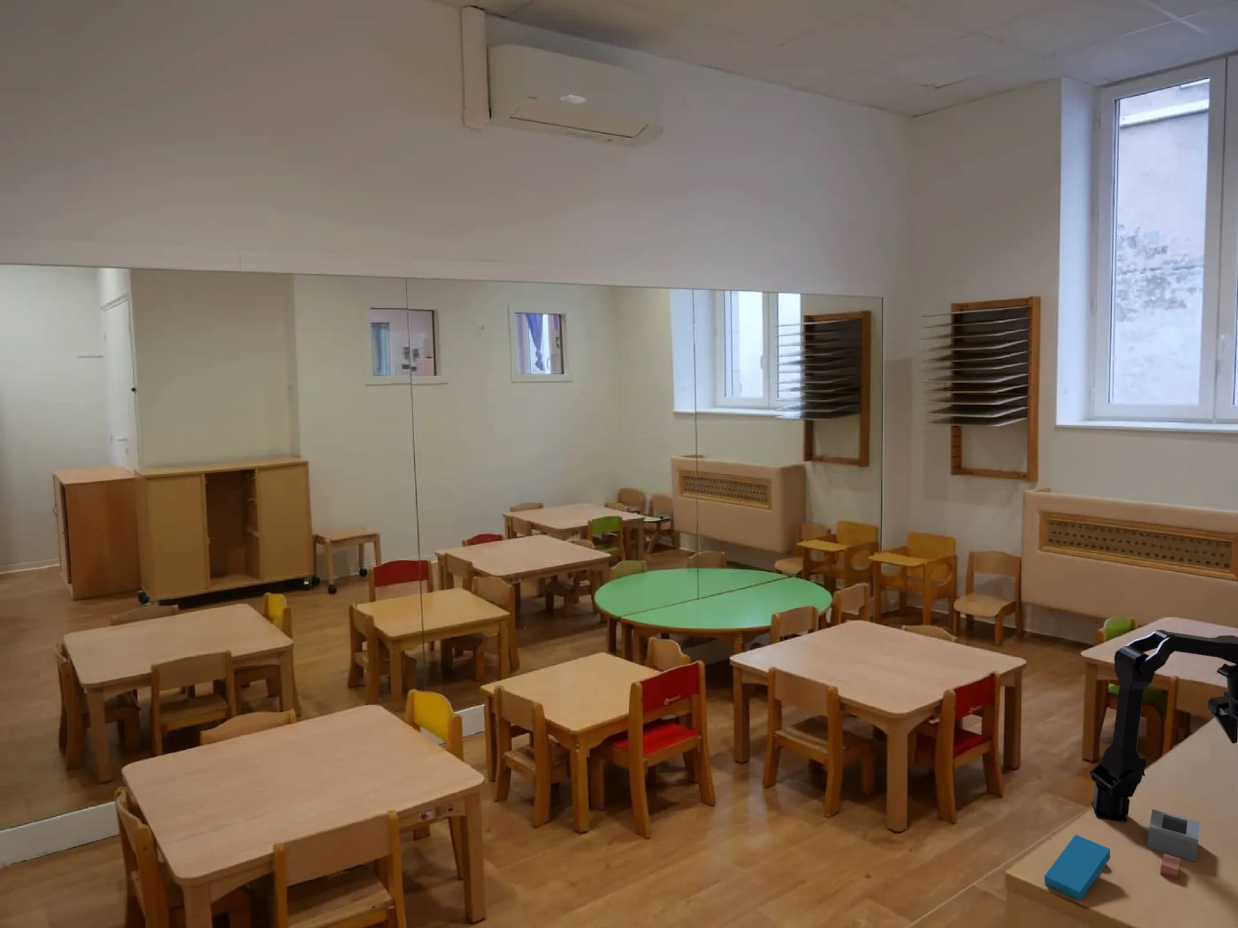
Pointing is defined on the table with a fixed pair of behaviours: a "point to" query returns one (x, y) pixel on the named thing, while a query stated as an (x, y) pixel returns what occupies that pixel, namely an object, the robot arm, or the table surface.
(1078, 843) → the blue rectangular box
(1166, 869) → the pink rectangular block
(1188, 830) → the posting box
